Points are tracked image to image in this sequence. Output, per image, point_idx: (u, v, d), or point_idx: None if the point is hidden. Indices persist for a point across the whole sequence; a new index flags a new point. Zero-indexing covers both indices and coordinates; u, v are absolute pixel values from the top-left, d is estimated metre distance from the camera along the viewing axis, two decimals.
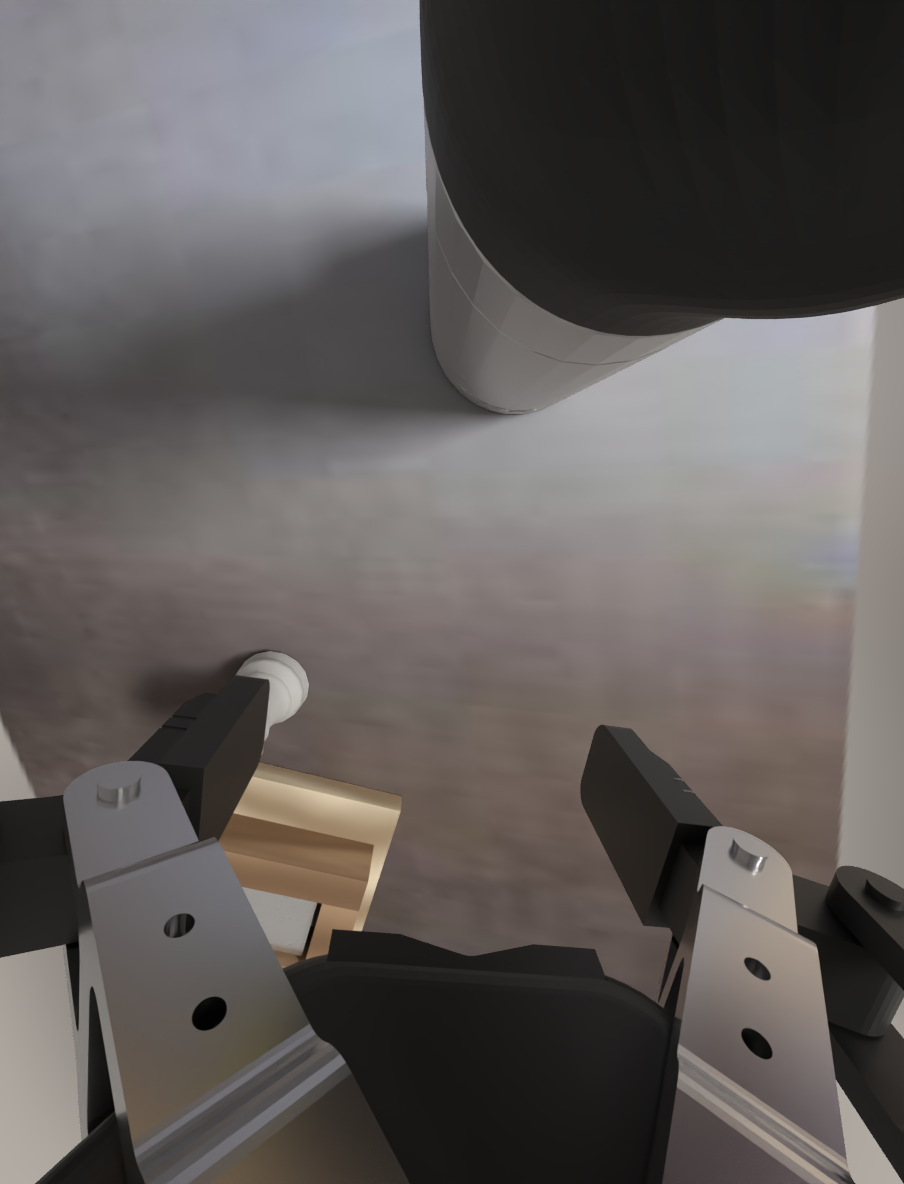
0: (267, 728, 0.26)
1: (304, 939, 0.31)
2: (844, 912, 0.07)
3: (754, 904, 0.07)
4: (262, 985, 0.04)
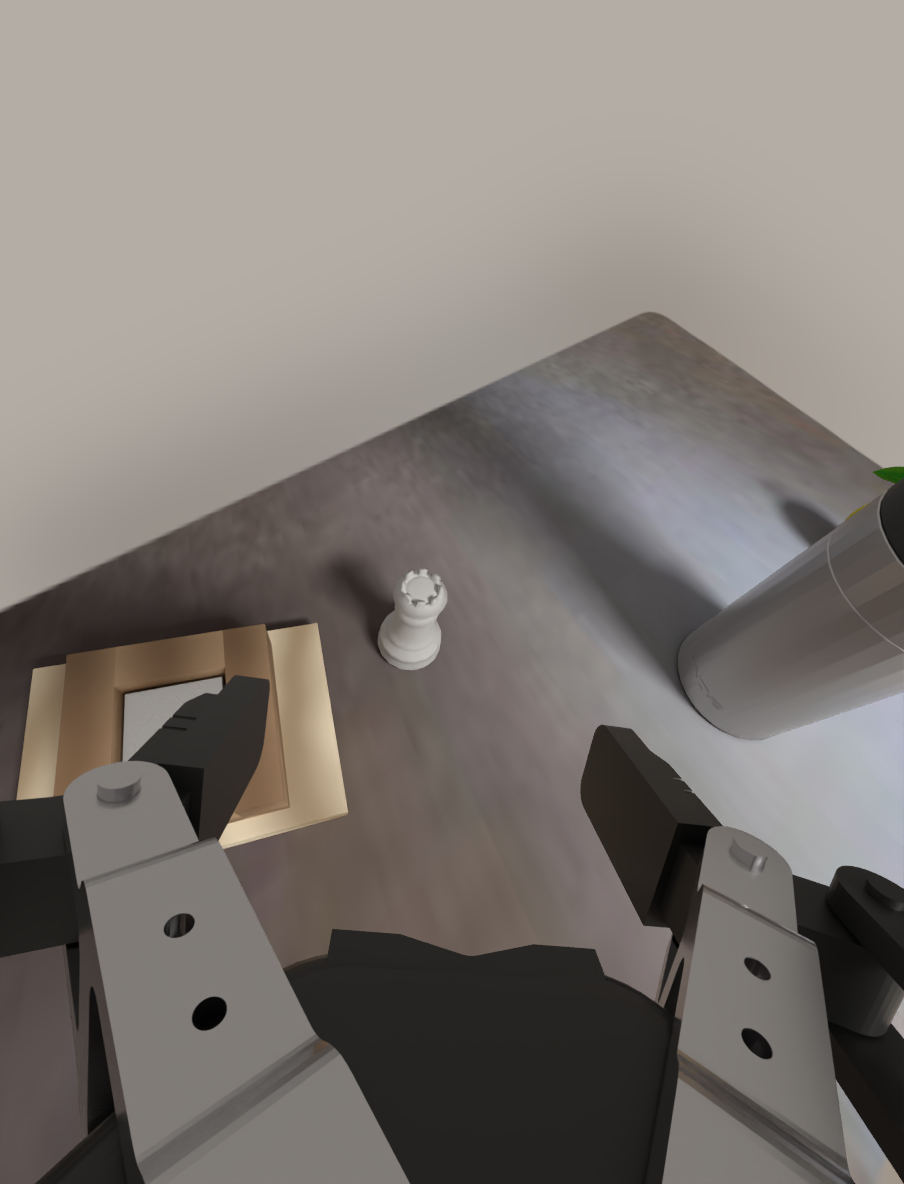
0: (427, 623, 0.30)
1: None
2: (844, 912, 0.07)
3: (754, 904, 0.07)
4: (262, 984, 0.04)
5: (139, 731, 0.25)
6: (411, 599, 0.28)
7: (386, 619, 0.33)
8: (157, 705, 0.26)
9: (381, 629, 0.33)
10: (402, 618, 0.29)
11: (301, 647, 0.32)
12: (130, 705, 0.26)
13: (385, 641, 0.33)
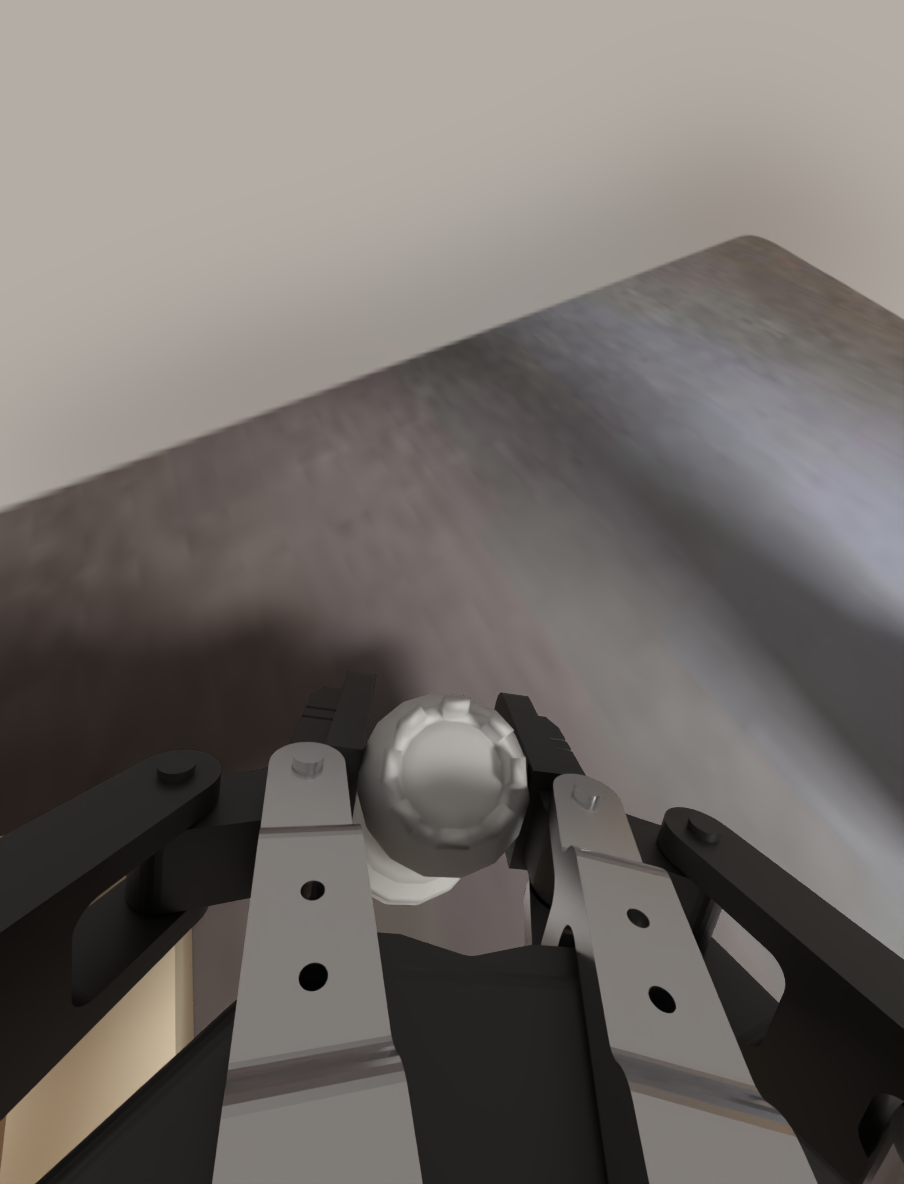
0: None
1: None
2: (677, 857, 0.08)
3: (569, 832, 0.07)
4: (361, 972, 0.04)
5: None
6: (417, 821, 0.08)
7: None
8: None
9: None
10: None
11: None
12: None
13: None
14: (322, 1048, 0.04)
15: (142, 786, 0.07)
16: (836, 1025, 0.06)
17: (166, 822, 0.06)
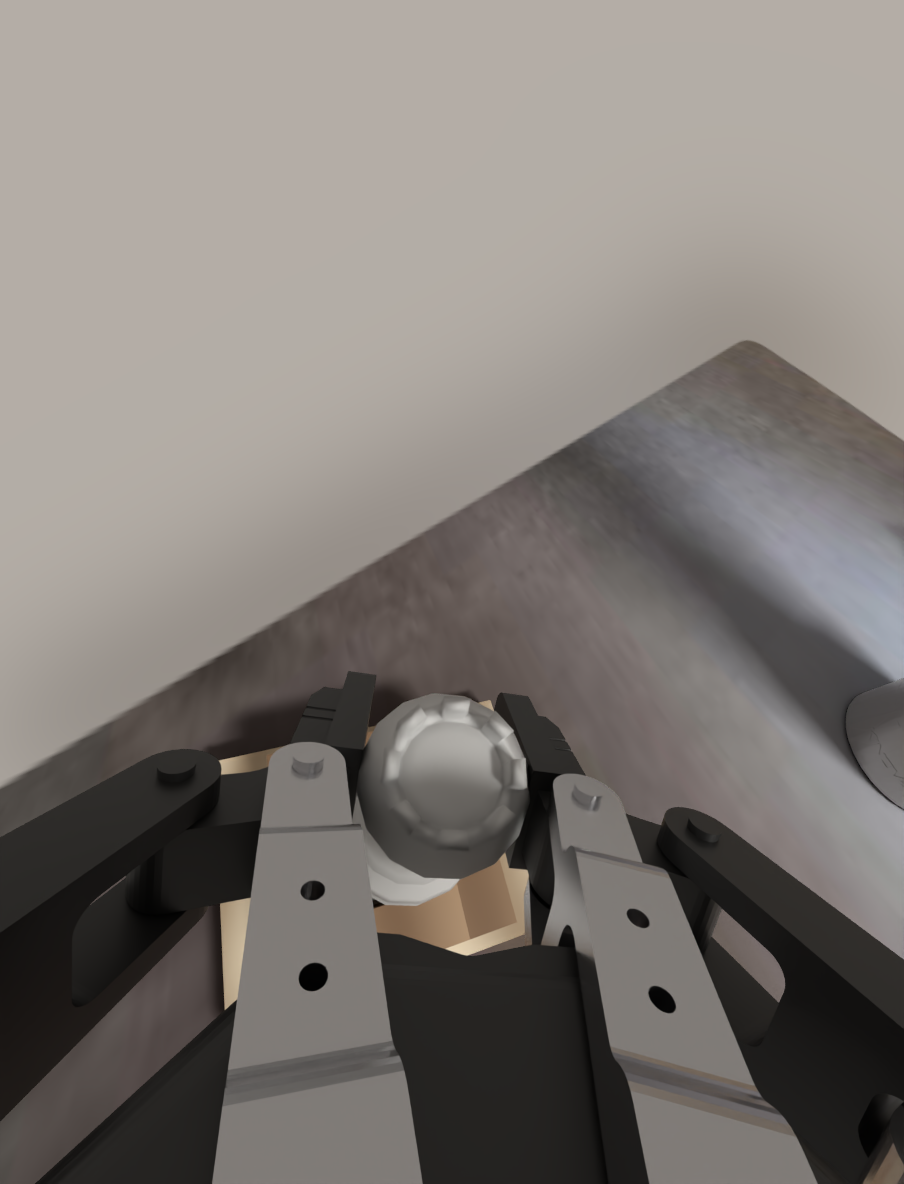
0: None
1: None
2: (677, 857, 0.08)
3: (569, 832, 0.07)
4: (361, 972, 0.04)
5: None
6: (417, 822, 0.08)
7: None
8: None
9: None
10: None
11: None
12: None
13: None
14: (322, 1048, 0.04)
15: (142, 786, 0.07)
16: (836, 1025, 0.06)
17: (165, 822, 0.06)
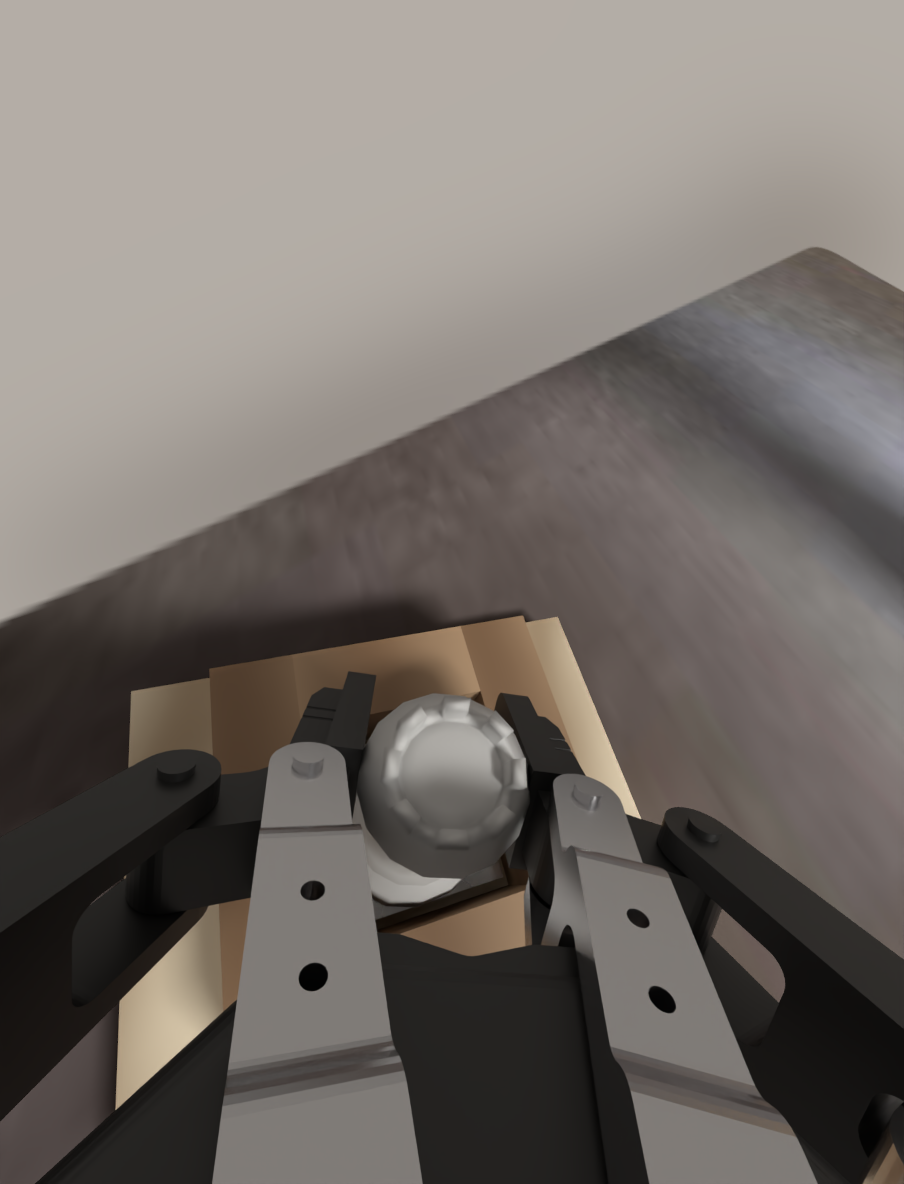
0: None
1: (390, 909, 0.14)
2: (677, 857, 0.08)
3: (569, 832, 0.07)
4: (361, 972, 0.04)
5: None
6: (417, 821, 0.08)
7: None
8: None
9: None
10: None
11: (544, 655, 0.20)
12: None
13: None
14: (322, 1048, 0.04)
15: (142, 786, 0.07)
16: (836, 1025, 0.06)
17: (166, 822, 0.06)
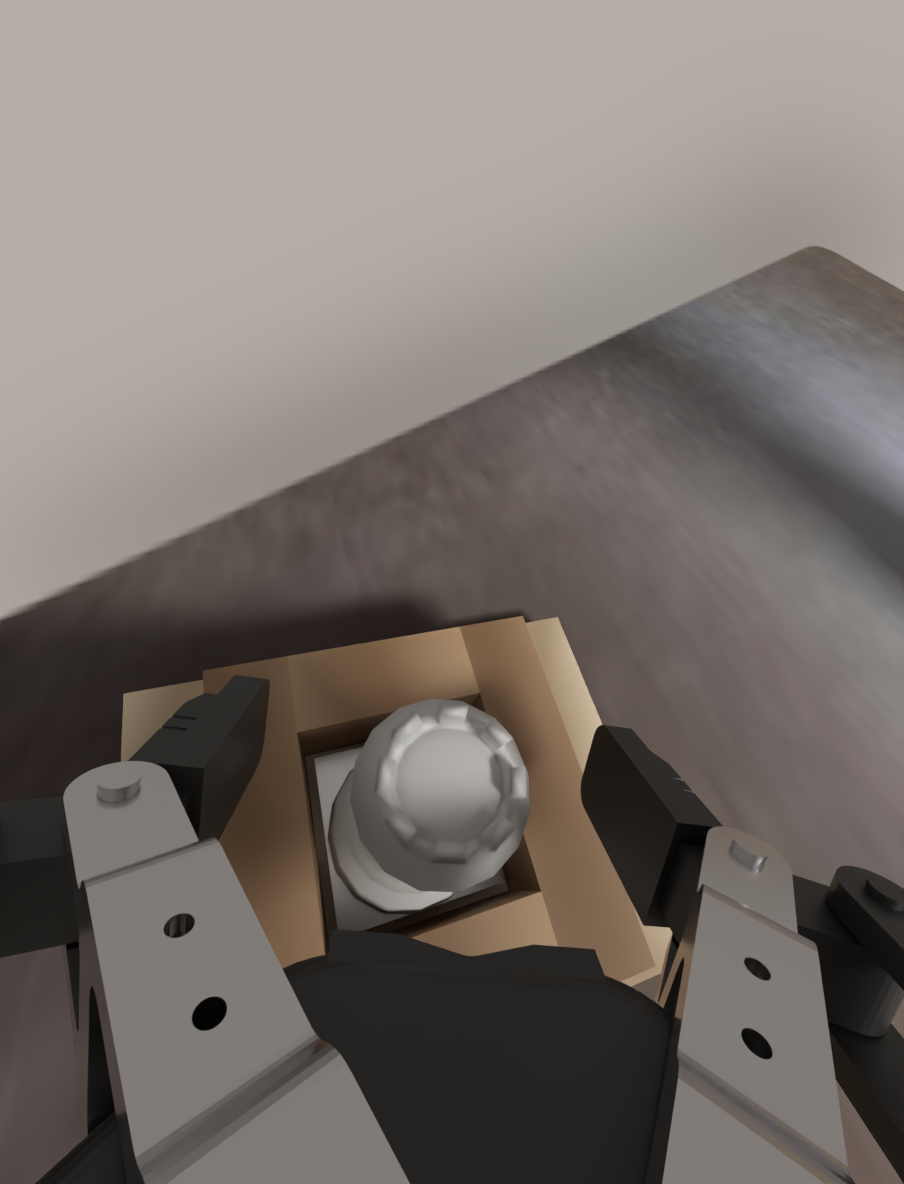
0: None
1: (388, 916, 0.13)
2: (844, 912, 0.07)
3: (754, 904, 0.07)
4: (262, 985, 0.04)
5: None
6: (413, 834, 0.08)
7: (348, 784, 0.13)
8: None
9: (335, 813, 0.13)
10: None
11: (544, 656, 0.19)
12: (327, 778, 0.15)
13: (342, 854, 0.12)
14: (322, 1048, 0.04)
15: None
16: None
17: None
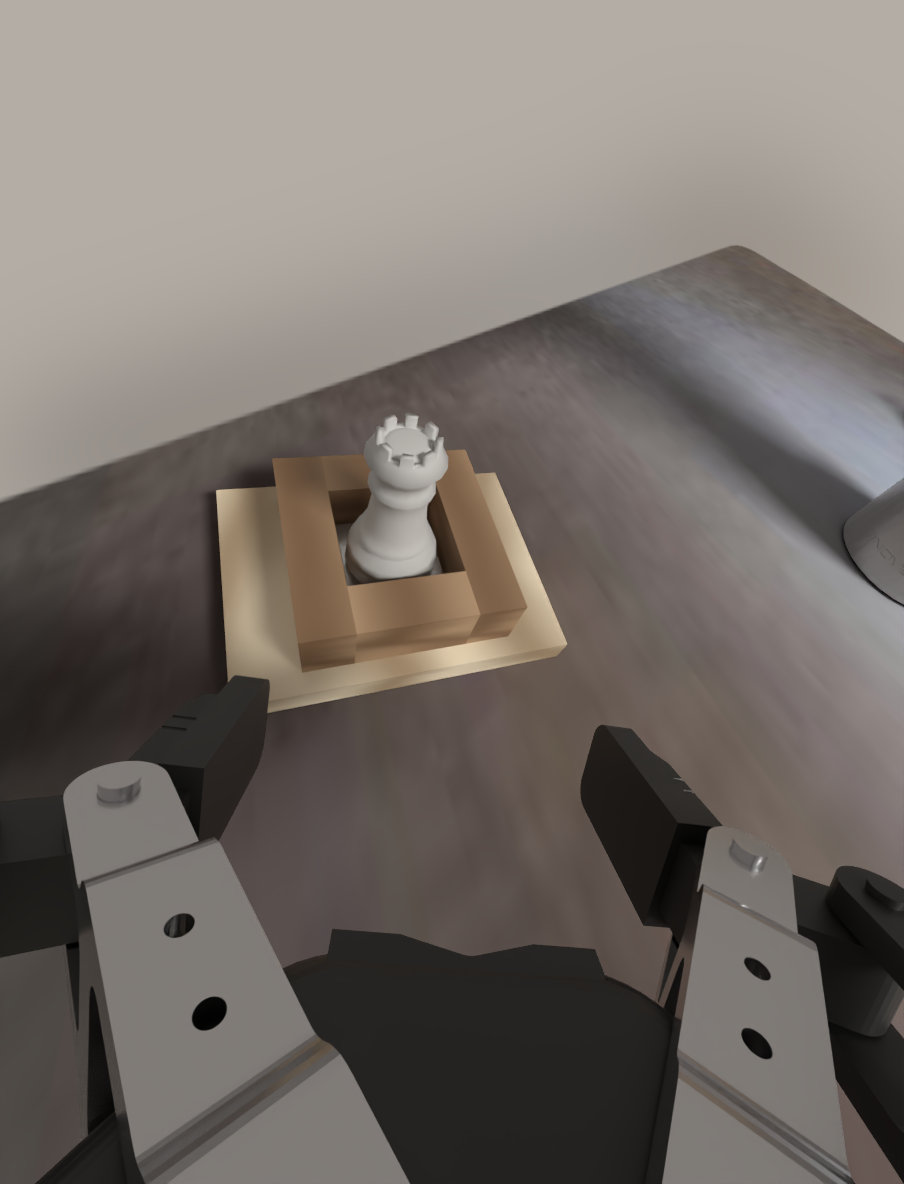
0: (417, 505, 0.19)
1: None
2: (844, 912, 0.07)
3: (754, 903, 0.07)
4: (262, 985, 0.04)
5: None
6: (391, 454, 0.18)
7: (357, 520, 0.23)
8: None
9: (350, 533, 0.23)
10: (378, 495, 0.19)
11: (484, 492, 0.29)
12: (343, 534, 0.25)
13: (354, 548, 0.22)
14: (322, 1048, 0.04)
15: None
16: None
17: None
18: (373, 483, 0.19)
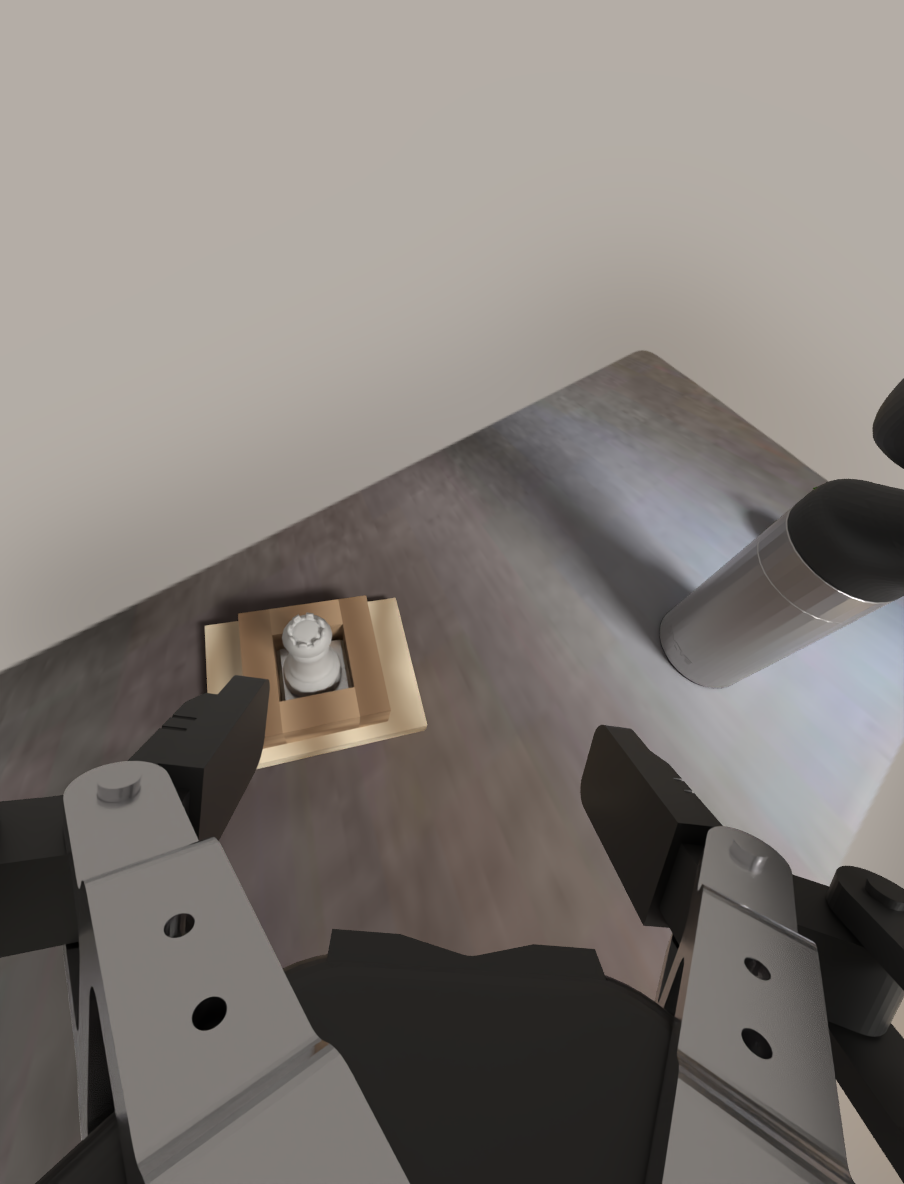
0: (315, 660, 0.34)
1: None
2: (844, 912, 0.07)
3: (754, 904, 0.07)
4: (262, 984, 0.04)
5: None
6: (295, 641, 0.32)
7: (290, 653, 0.38)
8: None
9: (285, 662, 0.37)
10: (292, 655, 0.34)
11: (385, 614, 0.44)
12: (284, 656, 0.39)
13: (286, 673, 0.37)
14: (322, 1048, 0.04)
15: None
16: None
17: None
18: None
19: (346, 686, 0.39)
